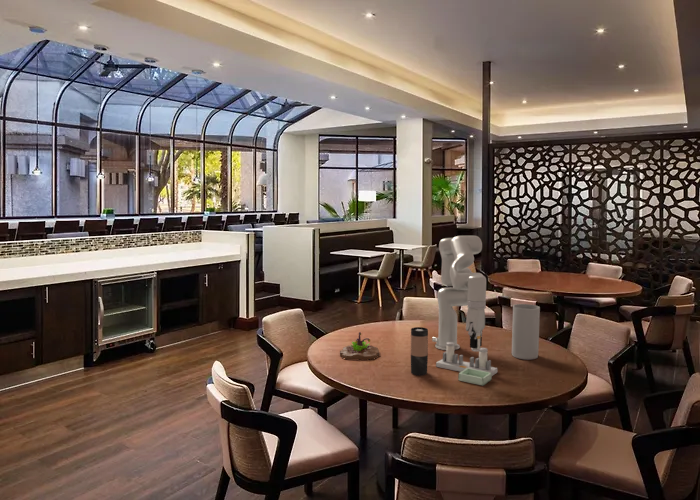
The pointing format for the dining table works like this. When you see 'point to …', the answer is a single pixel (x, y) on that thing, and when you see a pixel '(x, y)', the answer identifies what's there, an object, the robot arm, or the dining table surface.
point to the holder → (464, 364)
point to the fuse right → (483, 358)
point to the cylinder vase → (525, 331)
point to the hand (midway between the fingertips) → (475, 346)
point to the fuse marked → (478, 341)
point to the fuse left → (449, 352)
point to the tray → (475, 376)
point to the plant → (360, 350)
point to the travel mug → (419, 350)
